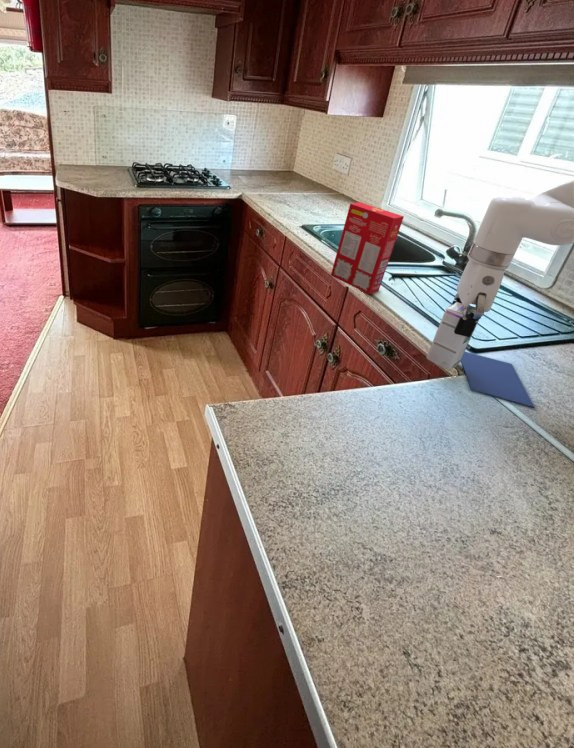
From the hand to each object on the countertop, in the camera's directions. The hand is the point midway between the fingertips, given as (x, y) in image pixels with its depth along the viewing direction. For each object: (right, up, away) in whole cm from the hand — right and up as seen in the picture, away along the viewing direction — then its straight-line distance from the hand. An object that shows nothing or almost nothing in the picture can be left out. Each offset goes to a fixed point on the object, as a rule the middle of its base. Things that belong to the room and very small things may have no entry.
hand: (458, 325), depth 92 cm
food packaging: (-8, +9, +41) cm, 42 cm away
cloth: (+9, -12, +2) cm, 15 cm away
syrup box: (-1, -9, +5) cm, 10 cm away
